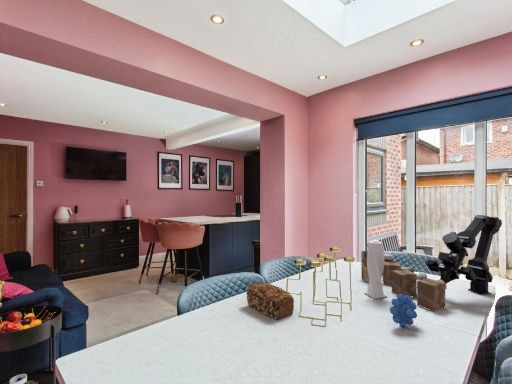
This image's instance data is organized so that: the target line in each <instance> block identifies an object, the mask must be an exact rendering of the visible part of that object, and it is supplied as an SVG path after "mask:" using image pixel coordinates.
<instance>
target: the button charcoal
mask: <svg viewBox="0 0 512 384" xmlns="http://www.w3.org/2000/svg"><path fill="white" fill-rule="evenodd" d="M401 270H408V271H410V272H413V273H415V267H414V265H410V266H409V267H407V266H401Z"/></svg>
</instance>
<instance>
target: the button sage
mask: <svg viewBox="0 0 512 384" xmlns="http://www.w3.org/2000/svg"><path fill="white" fill-rule="evenodd" d="M423 279H428V275H427V273H425V271H424V272H423V271H421V272H418V274H417V281H419V280H423Z"/></svg>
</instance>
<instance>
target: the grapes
mask: <svg viewBox="0 0 512 384" xmlns="http://www.w3.org/2000/svg"><path fill="white" fill-rule="evenodd" d="M390 303H391V305H392V306H390V308H389V313H390V314H391V315H392V321H393V322H394V323H395V324H398V325H399V326H400V327H402V328H406V327H407V326H412V325H413V324H414V320H413V319H417V317H418V314H417V311H415V310H417V308H418V307H417V306H418V305H417V304H416V303H415V302H414V301H413V299H412V297H410V296H408V295H406V296H404V295H402V294H398V295H396V298H395V297H394V298H392V299H391V302H390Z"/></svg>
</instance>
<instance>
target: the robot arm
mask: <svg viewBox="0 0 512 384" xmlns="http://www.w3.org/2000/svg"><path fill="white" fill-rule="evenodd" d="M502 224H503V220H501V219H500V218H499V217H498V216H497V217H496V216H488V215H484V214H483V215H481V214H477V215H474V217H473V220H472V221H471V222H470V223H469V225H468V226H467V227H466V228H465V229H464V230H463V231H459V232H458V233H456V232H455V231H450V233H446V234H445V235H442V241H443V243H444V244H445V247H446V248H447V249H448V250H449V252H443V251H439V253H438V256H437V259H438V260H440V263H438V261H437V260H434V259H427V260H426V261H425V265H426V267H427V268H428V269H429V270H430V271H431V272H435V273H440V279H439V280H442V281H444V282H445V283H446V285H447V284H448V283H450V282H452V281H455V280H456V279H457V280H459V279H460V275H464V278H465V279H466V281H470V283H469V285H470V286H469V287H470V288H468V289H467V290H468V291H470V290H471V291H470V292H472V291H473V293H475V294H477V293H478V294H477V295H492V292H490V291H489V283H492V282H493V280H494V279H493V278H494V277H493V275H492V274H491V272H490V267H489V264H488V259H489V258H488V256H489V254H490V249H491V246H492V243H493V238H494V235H495V234H497V233H498V232H499V231H500V229H501V227H502V226H503V225H502ZM479 234H480V236H479V239H478V243H477V241H476V238H477V237H478V235H479ZM476 243H477V246H476V250H475V254H474V257H473V258H472V259H471V258H469V259H468V261H467V264H466V266H464V263H463V261H464V260H465V258H466V257H469V253H468V250H467V249H473V248H474V247H475V245H476Z"/></svg>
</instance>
